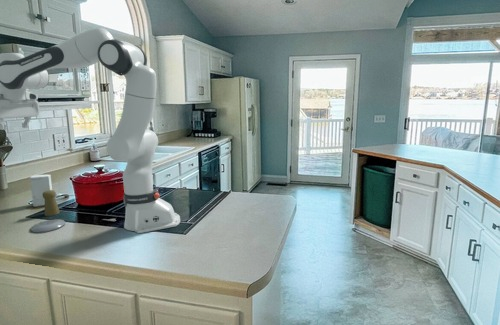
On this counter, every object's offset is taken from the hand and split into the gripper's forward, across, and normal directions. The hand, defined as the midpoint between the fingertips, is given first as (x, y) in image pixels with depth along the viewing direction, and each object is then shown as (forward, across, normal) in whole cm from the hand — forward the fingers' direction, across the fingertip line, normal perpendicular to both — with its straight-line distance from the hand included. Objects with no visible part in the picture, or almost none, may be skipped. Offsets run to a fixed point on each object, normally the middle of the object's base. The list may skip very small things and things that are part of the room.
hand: (14, 128), depth 132 cm
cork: (+40, +11, -7) cm, 42 cm away
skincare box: (+42, +21, +9) cm, 48 cm away
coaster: (+38, -2, -19) cm, 43 cm away
